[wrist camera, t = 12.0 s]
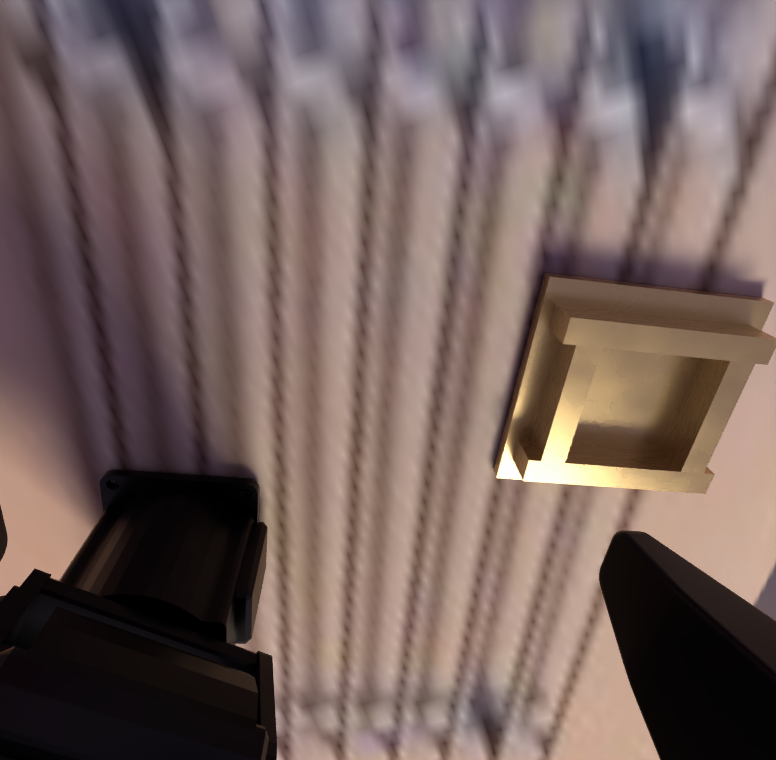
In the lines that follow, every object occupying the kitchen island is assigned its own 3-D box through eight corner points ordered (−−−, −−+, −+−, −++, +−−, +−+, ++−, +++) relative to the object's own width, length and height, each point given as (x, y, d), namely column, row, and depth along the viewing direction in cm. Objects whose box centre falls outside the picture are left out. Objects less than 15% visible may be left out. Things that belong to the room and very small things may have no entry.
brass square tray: (493, 469, 23) (505, 499, 22) (544, 272, 20) (564, 287, 18) (679, 483, 24) (707, 513, 22) (763, 298, 21) (804, 315, 19)
